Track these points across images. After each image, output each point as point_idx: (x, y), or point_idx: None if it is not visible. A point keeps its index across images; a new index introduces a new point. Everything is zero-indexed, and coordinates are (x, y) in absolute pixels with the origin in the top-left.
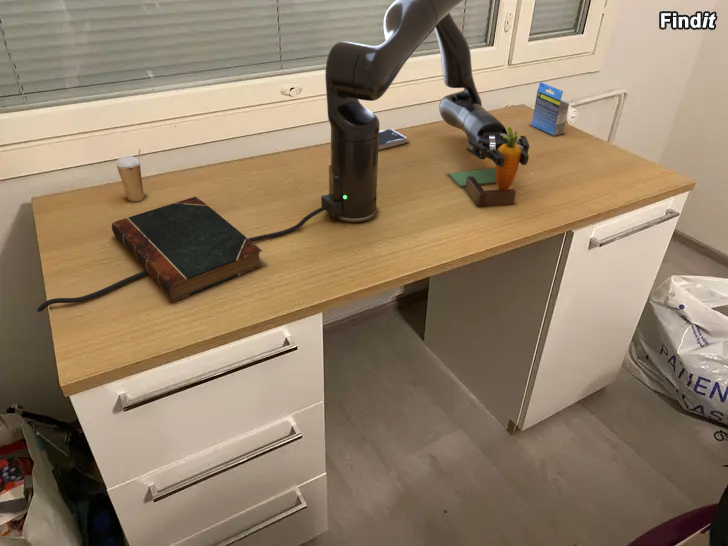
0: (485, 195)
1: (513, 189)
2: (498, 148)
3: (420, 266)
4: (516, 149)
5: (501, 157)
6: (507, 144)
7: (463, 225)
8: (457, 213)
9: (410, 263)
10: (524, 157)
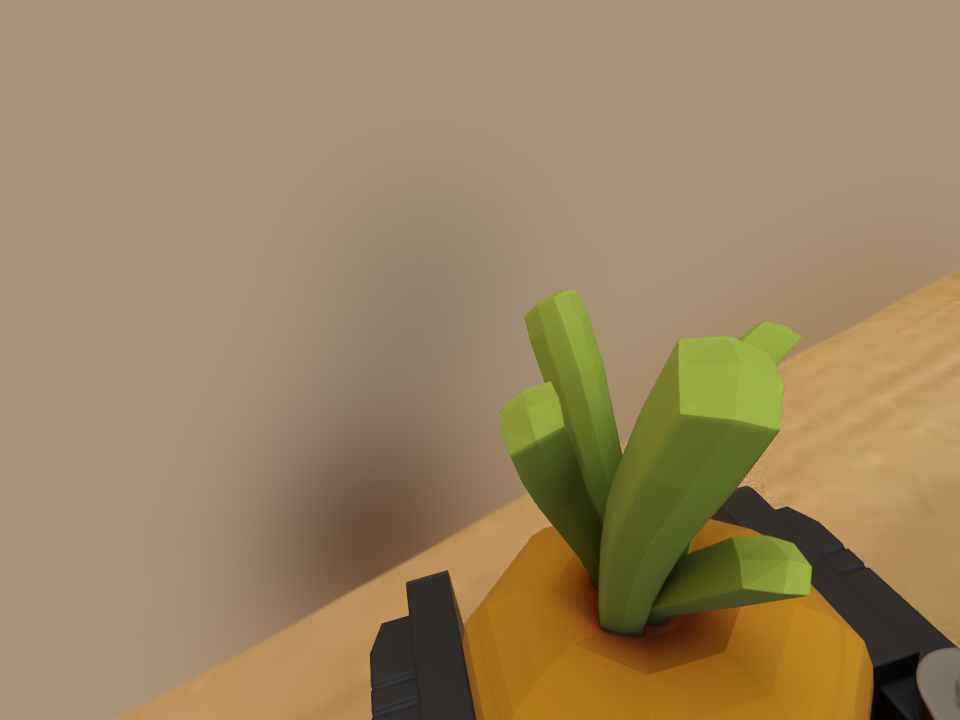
0: None
1: None
2: (862, 642)
3: (888, 312)
4: (549, 536)
5: (742, 489)
6: (705, 644)
7: (851, 493)
8: (954, 588)
9: (928, 312)
10: (450, 583)
